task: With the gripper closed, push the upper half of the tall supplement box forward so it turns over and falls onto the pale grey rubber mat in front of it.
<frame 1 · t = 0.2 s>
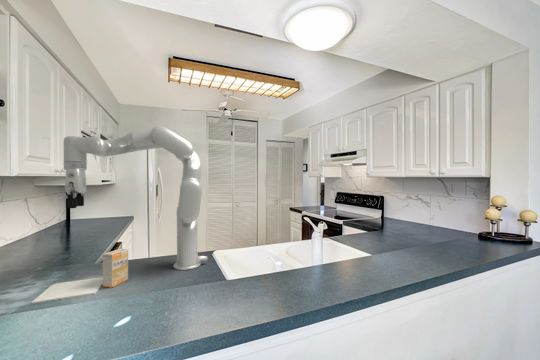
hand: (75, 207, 100), 31 cm above the counter, tool pointing down, fingers open, 9 cm apart
supplement box: (115, 283, 96), on the counter
mat: (73, 289, 91), on the counter
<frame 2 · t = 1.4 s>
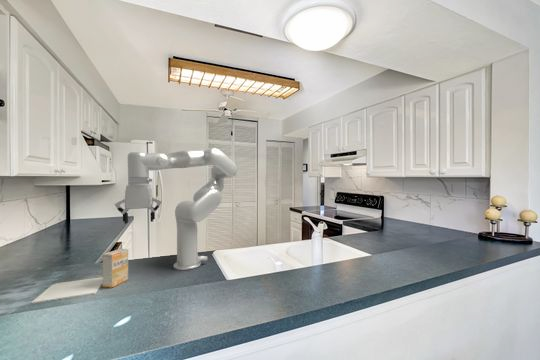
hand: (139, 222, 100), 24 cm above the counter, tool pointing down, fingers open, 9 cm apart
nothing on the counter moved.
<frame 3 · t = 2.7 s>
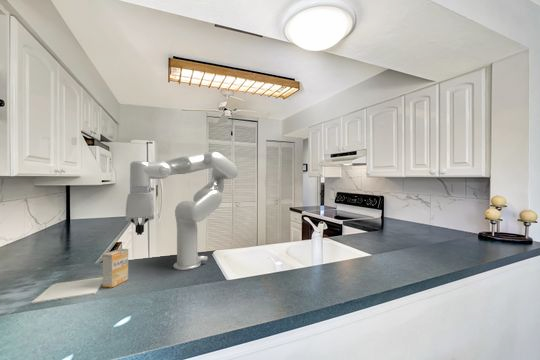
hand: (139, 234, 100), 19 cm above the counter, tool pointing down, fingers closed
nothing on the counter moved.
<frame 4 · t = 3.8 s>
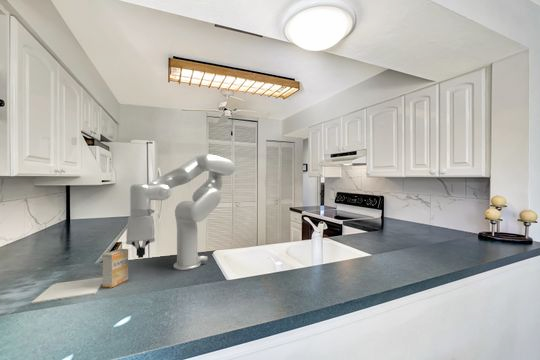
hand: (140, 256, 100), 10 cm above the counter, tool pointing down, fingers closed
nothing on the counter moved.
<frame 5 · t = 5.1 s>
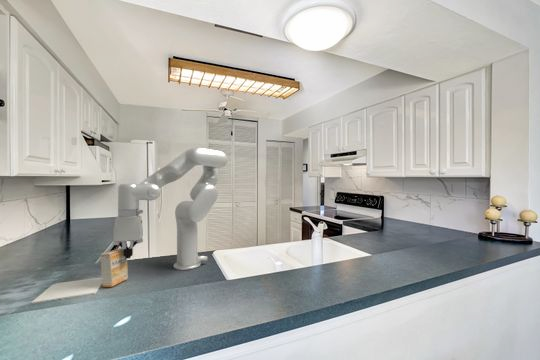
hand: (128, 257, 98), 10 cm above the counter, tool pointing down, fingers closed
supplement box: (115, 283, 96), on the counter, touching gripper
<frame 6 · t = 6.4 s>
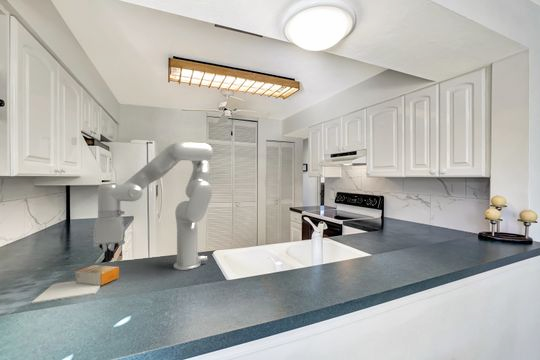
hand: (109, 260, 96), 10 cm above the counter, tool pointing down, fingers closed
supplement box: (111, 275, 97), point 3 cm above the counter, touching mat
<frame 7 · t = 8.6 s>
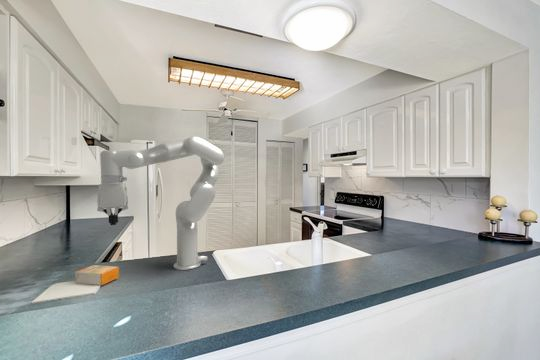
hand: (113, 224, 98), 24 cm above the counter, tool pointing down, fingers closed
nothing on the counter moved.
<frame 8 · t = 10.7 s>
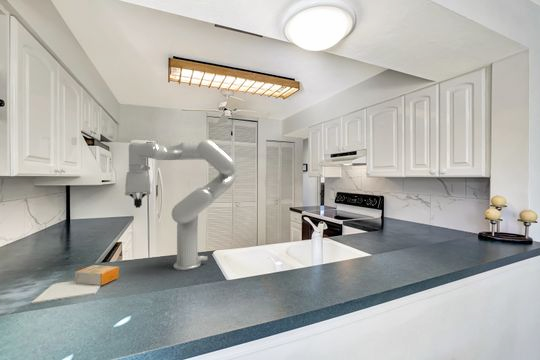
hand: (138, 207, 114), 29 cm above the counter, tool pointing down, fingers closed
nothing on the counter moved.
at the end: supplement box tilted 90°; supplement box inside the target area (3.4 cm from its centre), point 3.0 cm above the counter; supplement box touching mat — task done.
